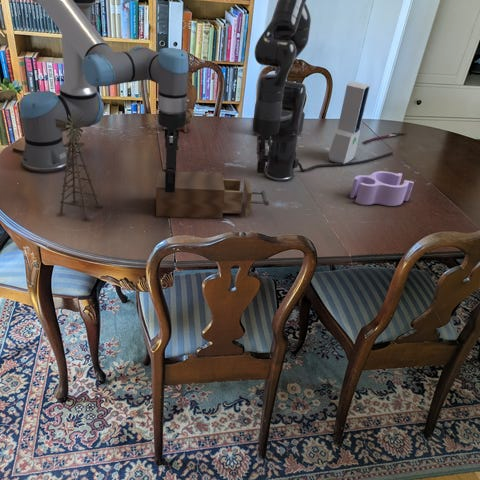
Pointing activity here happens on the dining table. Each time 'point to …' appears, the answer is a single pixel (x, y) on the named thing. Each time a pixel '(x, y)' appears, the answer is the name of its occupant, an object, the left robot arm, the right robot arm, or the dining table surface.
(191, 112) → the lion figurine
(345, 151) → the electronic device
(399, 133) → the sword
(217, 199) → the cabinet
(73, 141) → the miniature windmill
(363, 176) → the clip
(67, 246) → the dining table surface
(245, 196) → the drawer
